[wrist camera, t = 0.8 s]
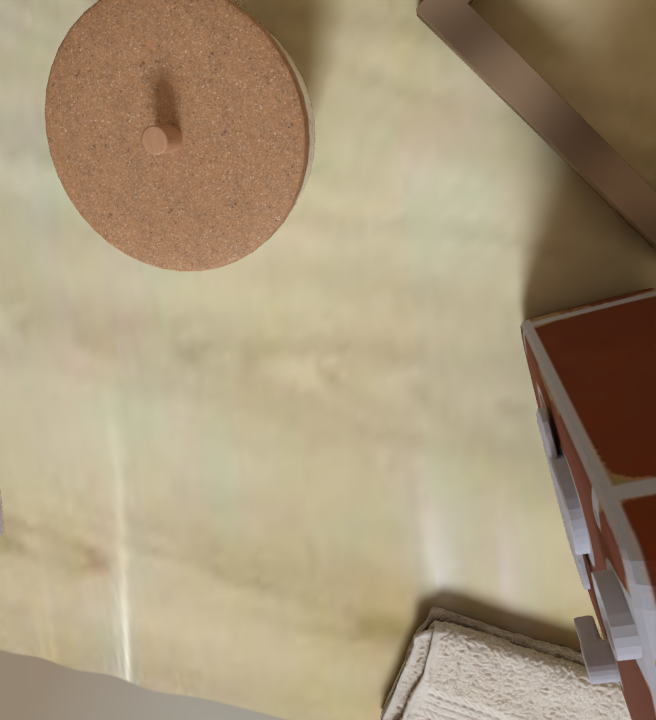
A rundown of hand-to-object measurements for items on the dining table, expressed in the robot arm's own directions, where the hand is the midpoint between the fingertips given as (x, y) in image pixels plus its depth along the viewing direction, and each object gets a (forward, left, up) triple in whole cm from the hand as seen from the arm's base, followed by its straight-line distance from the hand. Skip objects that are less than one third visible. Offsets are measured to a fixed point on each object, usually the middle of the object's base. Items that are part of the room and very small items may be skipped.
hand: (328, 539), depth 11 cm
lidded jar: (-11, -1, -23) cm, 25 cm away
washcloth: (+27, -17, -24) cm, 40 cm away
